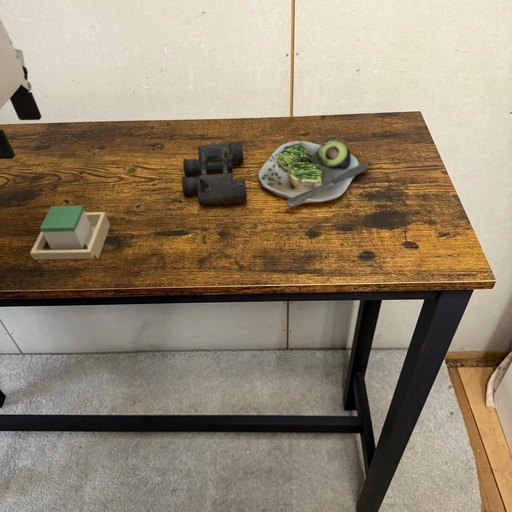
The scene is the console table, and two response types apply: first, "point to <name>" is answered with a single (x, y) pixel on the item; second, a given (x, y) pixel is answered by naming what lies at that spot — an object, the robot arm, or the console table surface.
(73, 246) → the container
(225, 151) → the binoculars
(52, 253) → the tray
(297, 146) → the salad plate
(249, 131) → the console table surface
